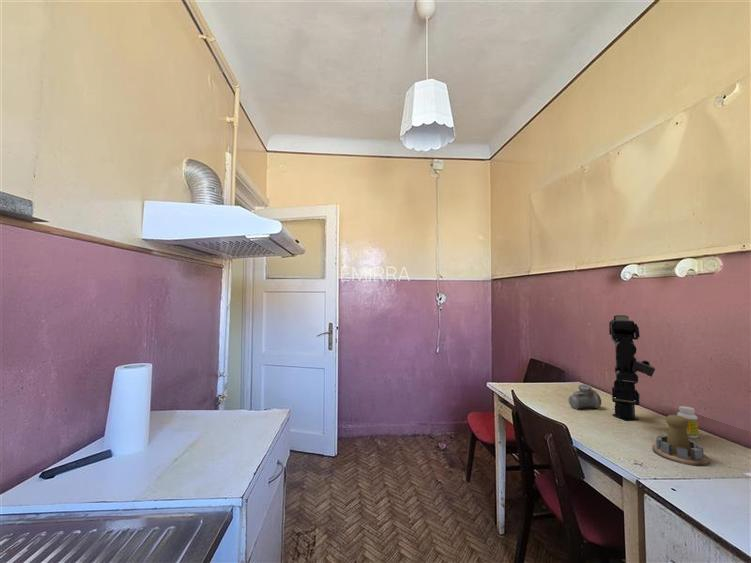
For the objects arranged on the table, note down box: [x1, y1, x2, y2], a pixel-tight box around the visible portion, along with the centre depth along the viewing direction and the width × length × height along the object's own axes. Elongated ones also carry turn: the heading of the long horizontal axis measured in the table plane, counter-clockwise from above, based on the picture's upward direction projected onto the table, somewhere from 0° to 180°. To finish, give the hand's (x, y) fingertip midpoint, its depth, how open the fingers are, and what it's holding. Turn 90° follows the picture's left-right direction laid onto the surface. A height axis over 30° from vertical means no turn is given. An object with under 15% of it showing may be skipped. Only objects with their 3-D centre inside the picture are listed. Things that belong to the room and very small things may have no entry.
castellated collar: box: [655, 434, 705, 461], centre depth 103 cm, size 11×11×3 cm
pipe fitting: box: [567, 384, 602, 410], centre depth 149 cm, size 12×8×10 cm
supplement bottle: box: [676, 405, 699, 439], centre depth 119 cm, size 5×5×10 cm
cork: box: [665, 414, 691, 456], centre depth 104 cm, size 6×6×11 cm
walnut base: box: [651, 443, 710, 467], centre depth 103 cm, size 13×13×1 cm
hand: (626, 395), depth 123 cm, fingers open, 9 cm apart
